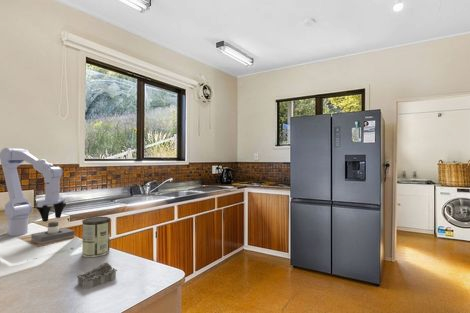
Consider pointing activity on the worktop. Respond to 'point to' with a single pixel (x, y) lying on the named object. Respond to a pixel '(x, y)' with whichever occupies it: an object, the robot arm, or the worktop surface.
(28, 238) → the board
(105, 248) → the coffee can
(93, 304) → the worktop surface
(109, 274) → the egg carton
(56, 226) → the cylinder
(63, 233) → the grey square frame plate
